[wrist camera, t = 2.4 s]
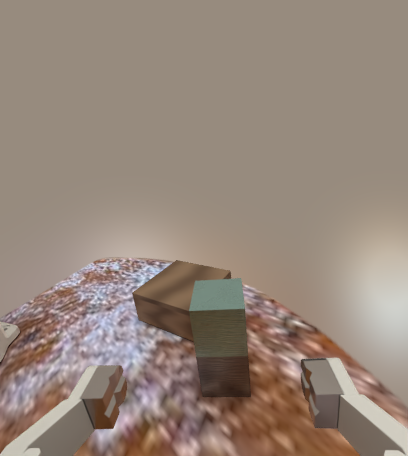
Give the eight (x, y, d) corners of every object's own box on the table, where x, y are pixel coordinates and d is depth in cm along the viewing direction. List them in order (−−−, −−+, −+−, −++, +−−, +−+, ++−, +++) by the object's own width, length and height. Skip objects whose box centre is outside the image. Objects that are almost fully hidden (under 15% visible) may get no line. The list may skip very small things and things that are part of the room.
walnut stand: (138, 319, 38) (132, 292, 37) (180, 283, 47) (176, 260, 45) (197, 343, 33) (192, 312, 31) (232, 296, 41) (230, 270, 40)
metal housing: (202, 396, 26) (189, 311, 22) (205, 357, 30) (195, 280, 27) (250, 396, 25) (244, 308, 22) (246, 356, 30) (241, 278, 26)
